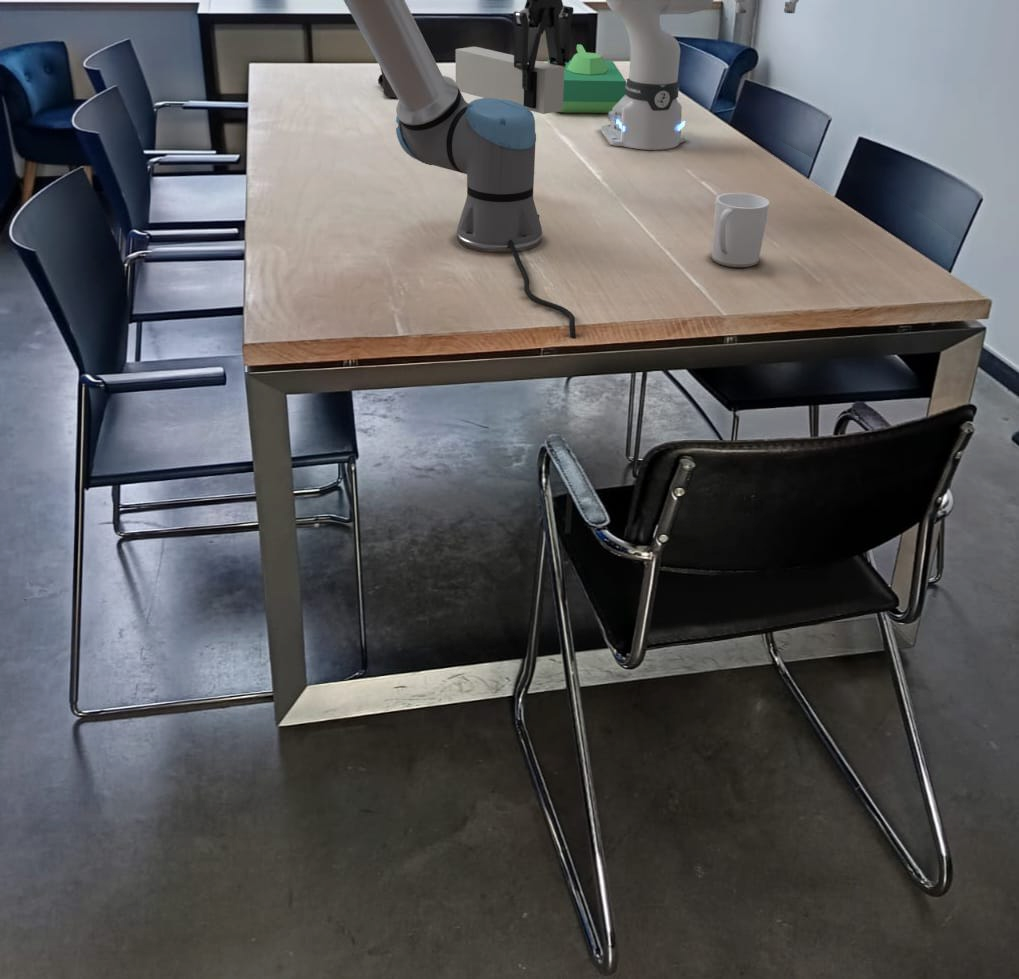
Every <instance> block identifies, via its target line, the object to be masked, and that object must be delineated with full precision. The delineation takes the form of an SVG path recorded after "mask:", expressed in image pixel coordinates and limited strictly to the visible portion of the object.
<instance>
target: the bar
mask: <svg viewBox="0 0 1019 979" xmlns="http://www.w3.org/2000/svg"><path fill="white" fill-rule="evenodd" d="M528 64H529V63H528ZM534 72H537V95H536V108H529V107H526V108H528V109H529V110H530V111H531V112H534V113H538V114H542V115H546V114H550V113H557V112H556V111H562V110H563V88H564V67H563V66H558V65H554V64H549V63H548V62H545V61H540V60H536V62H535V67H534ZM455 83H456V84H457V86H458V88H459V90H460V92H461V93H463V94H467V95H472V96H475V97H479V98H497V99H499V100H503V99H504V100H509V101H513V102H516V103H519V104H521V105H523V106H524V89H523V88H522V70H519V69H518V68H515V67H514V54H509V53H506V52H505V53H504V52H500V51H497V50H492V49H487V48H483V47H478V46H468V47H463V48H456V49H455Z"/></svg>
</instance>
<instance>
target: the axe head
mask: <svg viewBox="0 0 1019 979" xmlns="http://www.w3.org/2000/svg"><path fill="white" fill-rule="evenodd" d="M378 66H379V68H380V72H381V74H379V75H378V79H377V84H378V85H379V86H380V87H381V88H382V89H383V95H384V96H385V97H388V98H394V99H395V98H396V99H398V98H397V96H396V94H395V93H394V91H393V89H392V87H391V85H390V84H389V82H388V80H387V78H386V76H385V75H384V73H383V71H382V69H381V67H380V65H379V64H378Z"/></svg>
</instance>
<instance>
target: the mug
mask: <svg viewBox="0 0 1019 979" xmlns="http://www.w3.org/2000/svg"><path fill="white" fill-rule="evenodd" d="M769 209H770V200H769V199H768V198H766V197H764V196H761V195H758V194H753V193H748V192H747V193H746V192H727V193H722V194H719V195H717V196H716V198H715V204H714V218H713V232H712V246H711V258H712V261H713V262H715V263H716V264H719V265H721V266H724V267H728V268H729V267H732V268H748V267H749V268H750V267H753V266H755V265H757V264H758V263H759V261H760V255H761V250H762V246H763V240H764V234H765V229H766V225H767V219H768V214H769Z"/></svg>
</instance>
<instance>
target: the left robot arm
mask: <svg viewBox="0 0 1019 979" xmlns="http://www.w3.org/2000/svg"><path fill="white" fill-rule="evenodd" d="M343 2H344V4H345V6H346V7H347V9H348V11H349V13H350V15H351V17H352V18H353V21H354V22H355V24H356V25H357V28H358V29H359V31H360V33H361V35H362V36H363V39H364V40H365V42H366V44H367V45H368V47H369V50H370V51H371V53H372V54H373V57H374V58H375V60H376V62H377V64H378V66H379V65H380V66H379V68H380V67H381V69H382V71H383V73H384V75H385V76H386V78H387V80H388V82H389V84H390V85H391V87H392V89H393V91H394V93H395V94H396V96H397V98H396V99H397V100H398V101H397V103H396V118H395V123H396V124H397V127H396V128H395V132H396V137H397V140H398V143H399V145H400V146H401V148H402V149H403V151H404V152H405V153H406V155H408V156H409V157H411V158H412V159H415V160H416V161H418V162H421V163H423V164H425V165H428V166H435V167H437V168H442V169H447V170H450V171H453V172H456V173H457V172H458V173H459V174H460V173H461V174H463V175H466V192H467V193H466V198H465V202H464V205H463V209H462V211H461V214H460V218H459V220H458V224H457V228H456V241H457V243H458V244H459V245H461V246H462V247H464V248H466V249H468V250H470V251H475V252H479V253H486V254H497V255H499V254H500V255H506V254H507V255H508V254H512V257H513V259H514V261H515V263H516V266H517V267H518V270H519V272H520V274H521V276H522V279H523V290H524V293H525V295H526V296H527V297H528V299H529V300H531V301H532V302H534V303H535V304H538V305H540V306H543V307H546V308H549V309H551V310H553V311H556V312H559V313H561V314H563V315H564V316H565V317H566V318H568V320H569V321H568V323H569V324H568V325H569V326H568V327H569V338H570V339H573V340H574V339H577V333H576V317H575V315H574V314H573V313H572V312H571V311H570V310H568V309H567V308H566V307H564V306H562V305H559V304H556V303H553V302H551V301H548V300H545V299H542V298H540V297H538V296H536V295H535V294H534V293H532V291H531V289H530V277H529V276H528V272H527V270H526V268H525V266H524V265H523V262H522V260H521V258H520V255H519V253H524V252H527V251H530V250H533V249H536V248H538V247H539V246H540V245H541V244H542V243H543V229H542V224H541V221H540V220H541V219H540V214H538V213H539V212H538V210H537V206H536V204H535V199H534V184H535V162H536V143H537V133H536V120H535V115H534V113H533V111H530V110H529V109H528V108H526V107H529V108H536V95H537V72H534V67H535V62H536V61H537V56H538V53H539V52H538V51H539V47H540V42H541V37H542V35H543V34H544V33H545V39H546V40H545V42H546V47H547V53H548V60H549V61H550V64H554V65H558V66H563V67H564V68H565V66H566V64H565V63H568V62H569V61H570V60H571V38H572V37H571V34H572V33H571V32H572V31H571V30H572V18H573V14H574V7H573V6H568V5H564V3H563V0H526V1H525V4H524V8H523V9H522V10H520V11H513V13H512V18H513V22H514V41H513V42H514V46H513V55H514V67H515V68H518V69H519V70H522V88H523V89H524V106H523V105H521V104H519V103H516V102H513V101H509V100H504V99H503V100H499V99H497V98H482V97H480V98H476V99H474V100H471V101H470V102H469V103H468V102H467V101H466V100H465V99H464V96H463V94H462V92H460V90H459V88H458V86H457V84H456V80H454V79H453V78H452V77H450V76H446V75H443V74H442V72H441V70H440V69H439V68H440V67H439V65H438V64H437V62H436V60H435V58H434V56H433V54H432V52H431V50H430V48H429V46H428V44H427V42H426V40H425V38H424V36H423V34H422V32H421V29H420V28H419V26H418V24H417V21H416V20H415V18H414V15H413V14H412V12H411V10H410V8H409V6H408V4H407V1H406V0H343ZM528 63H529V64H528ZM381 69H380V70H381ZM572 511H573V499H572V500H571V498H570V496H569V494H568V492H567V494H566V508H565V524H564V525H565V526H564V534H565V533H567V534H568V533H570V534H571V527H572V513H573V512H572ZM569 560H570V557H569V558H568V555H567V554H566V553H565V552H564V551H563V561H564V562H568V561H569Z"/></svg>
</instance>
